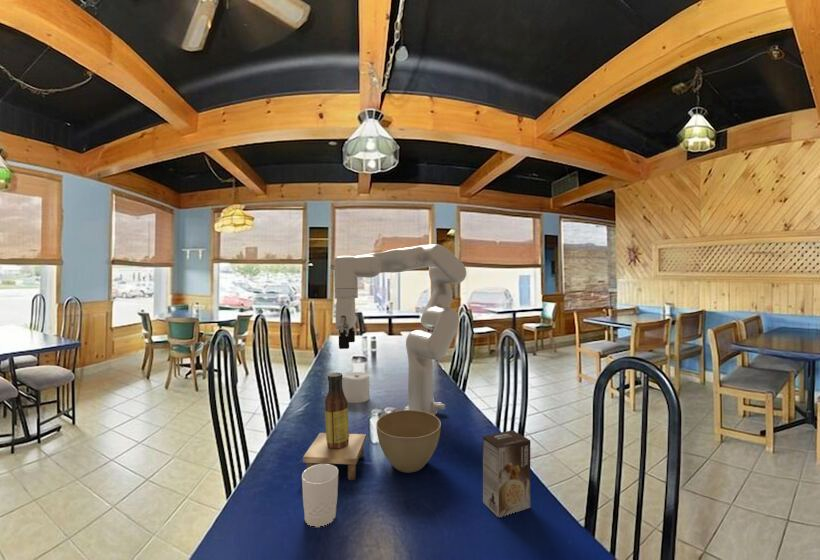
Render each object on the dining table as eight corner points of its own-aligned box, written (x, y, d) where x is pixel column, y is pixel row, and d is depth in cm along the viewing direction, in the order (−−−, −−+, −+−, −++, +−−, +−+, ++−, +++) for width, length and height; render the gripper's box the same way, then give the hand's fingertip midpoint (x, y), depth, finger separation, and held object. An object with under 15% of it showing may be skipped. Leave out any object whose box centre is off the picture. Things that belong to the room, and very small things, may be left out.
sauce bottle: (352, 440, 105) (352, 371, 104) (343, 451, 99) (343, 378, 98) (330, 438, 106) (330, 370, 106) (321, 448, 100) (320, 376, 99)
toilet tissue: (373, 400, 154) (373, 376, 153) (347, 406, 147) (347, 381, 147) (362, 393, 163) (362, 370, 162) (336, 398, 156) (336, 375, 156)
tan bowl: (368, 456, 108) (368, 415, 108) (423, 444, 115) (423, 406, 115) (389, 490, 91) (389, 442, 91) (452, 474, 99) (452, 429, 98)
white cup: (306, 506, 85) (305, 464, 85) (340, 504, 86) (340, 462, 85) (298, 530, 77) (298, 484, 77) (336, 528, 78) (336, 482, 78)
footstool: (366, 454, 109) (366, 434, 109) (356, 481, 95) (356, 458, 95) (319, 452, 110) (319, 432, 110) (303, 479, 96) (303, 456, 96)
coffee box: (512, 493, 90) (513, 428, 90) (531, 508, 85) (532, 440, 84) (481, 502, 87) (482, 435, 86) (498, 519, 81) (499, 447, 80)
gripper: (340, 291, 129) (341, 339, 130) (328, 296, 112) (329, 351, 113) (361, 291, 129) (362, 339, 130) (352, 295, 112) (353, 351, 112)
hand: (347, 345), depth 121 cm, fingers open, 9 cm apart
